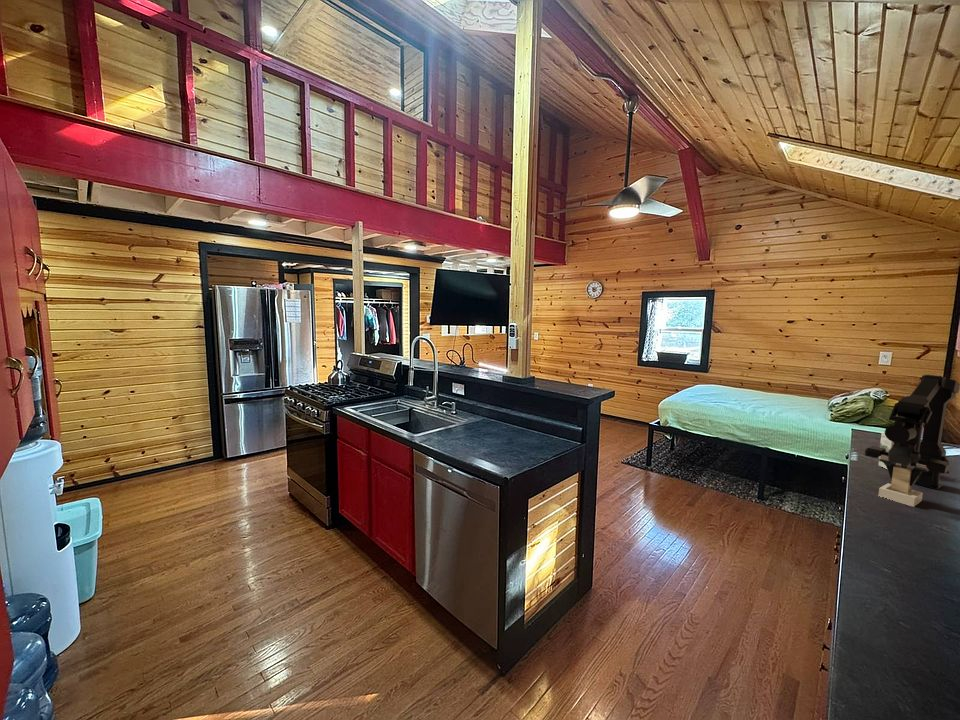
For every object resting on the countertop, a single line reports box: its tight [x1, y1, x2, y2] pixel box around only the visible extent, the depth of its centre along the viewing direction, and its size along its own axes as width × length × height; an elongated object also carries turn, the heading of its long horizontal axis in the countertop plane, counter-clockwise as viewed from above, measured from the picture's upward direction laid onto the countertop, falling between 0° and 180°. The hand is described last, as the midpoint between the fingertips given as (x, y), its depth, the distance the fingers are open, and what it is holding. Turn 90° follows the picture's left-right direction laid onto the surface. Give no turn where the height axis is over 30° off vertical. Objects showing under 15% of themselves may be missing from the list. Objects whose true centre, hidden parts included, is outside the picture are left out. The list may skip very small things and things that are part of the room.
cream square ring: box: [877, 482, 924, 508], centre depth 133 cm, size 8×8×3 cm
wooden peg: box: [890, 464, 914, 494], centre depth 133 cm, size 4×4×9 cm
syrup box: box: [877, 431, 901, 471], centre depth 159 cm, size 6×6×14 cm
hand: (901, 483), depth 133 cm, fingers closed on wooden peg, 4 cm apart
